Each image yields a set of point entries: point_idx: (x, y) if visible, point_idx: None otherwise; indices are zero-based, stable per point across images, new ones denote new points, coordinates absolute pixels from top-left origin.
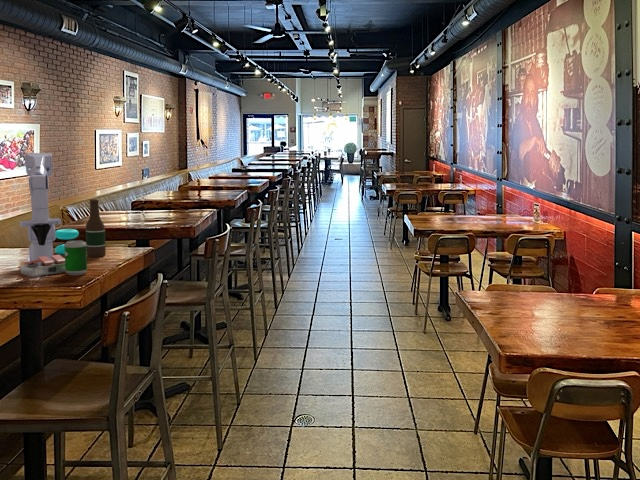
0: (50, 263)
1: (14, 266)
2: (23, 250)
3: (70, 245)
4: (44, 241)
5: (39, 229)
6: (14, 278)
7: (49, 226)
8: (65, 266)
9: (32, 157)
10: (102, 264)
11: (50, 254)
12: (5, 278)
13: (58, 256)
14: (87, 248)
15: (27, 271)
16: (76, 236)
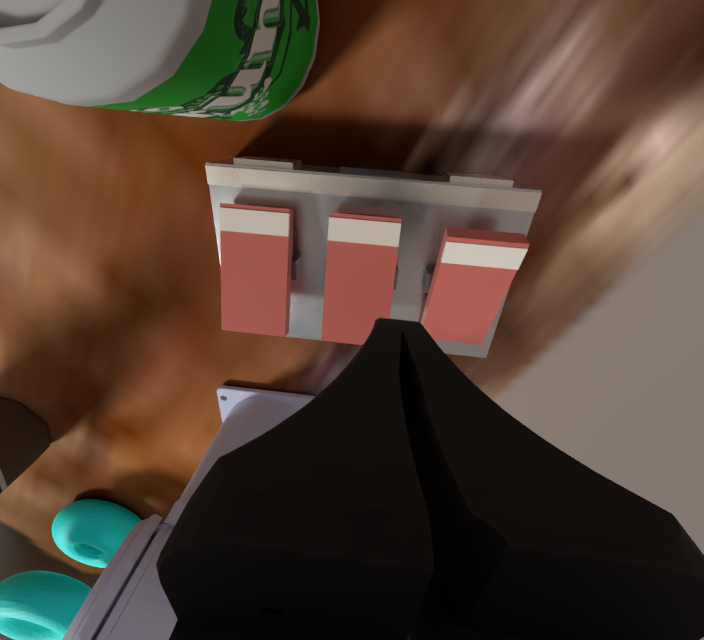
0: (359, 215)
1: None
2: None
3: None
4: (386, 334)
5: (612, 503)
6: (609, 228)
7: (232, 520)
8: (305, 43)
9: None
10: (2, 218)
11: (230, 435)
12: (631, 270)
13: (242, 299)
14: (14, 463)
15: None
16: (13, 575)
